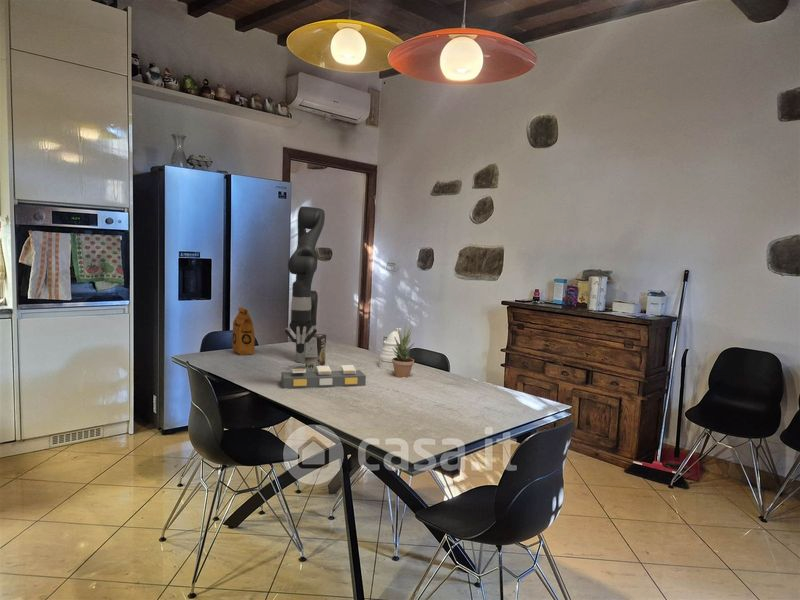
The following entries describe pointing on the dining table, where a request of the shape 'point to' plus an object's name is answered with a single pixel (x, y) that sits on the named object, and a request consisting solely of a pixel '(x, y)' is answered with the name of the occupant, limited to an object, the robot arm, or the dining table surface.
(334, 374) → the switch box
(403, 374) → the potted plant
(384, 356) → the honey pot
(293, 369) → the switch
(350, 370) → the switch
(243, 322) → the coffee package
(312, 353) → the coffee box
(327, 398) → the dining table surface
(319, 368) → the switch
